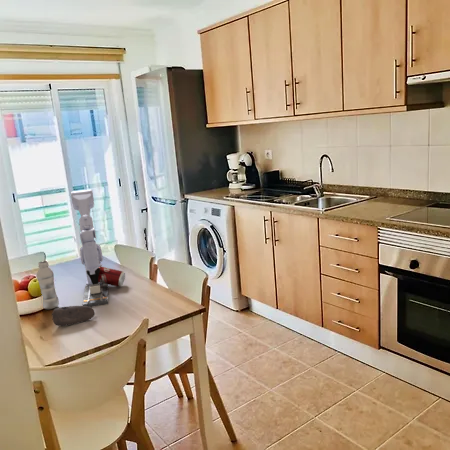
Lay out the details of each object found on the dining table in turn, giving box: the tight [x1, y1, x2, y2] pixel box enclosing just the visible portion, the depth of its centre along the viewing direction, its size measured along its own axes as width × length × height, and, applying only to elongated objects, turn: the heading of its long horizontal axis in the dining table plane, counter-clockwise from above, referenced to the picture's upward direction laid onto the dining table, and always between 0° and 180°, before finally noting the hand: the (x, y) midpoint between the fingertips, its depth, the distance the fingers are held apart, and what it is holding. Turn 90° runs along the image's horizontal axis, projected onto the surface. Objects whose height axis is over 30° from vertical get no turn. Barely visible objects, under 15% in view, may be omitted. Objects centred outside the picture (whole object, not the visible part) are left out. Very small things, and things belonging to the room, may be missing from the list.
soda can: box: [98, 266, 126, 288], centre depth 201 cm, size 7×7×12 cm
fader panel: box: [81, 283, 109, 308], centre depth 192 cm, size 23×10×2 cm, turn 14°
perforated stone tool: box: [51, 305, 96, 327], centre depth 166 cm, size 15×5×7 cm, turn 105°
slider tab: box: [90, 283, 101, 294], centre depth 192 cm, size 3×4×4 cm
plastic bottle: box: [36, 260, 60, 310], centre depth 181 cm, size 6×7×20 cm
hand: (95, 285), depth 197 cm, fingers closed
